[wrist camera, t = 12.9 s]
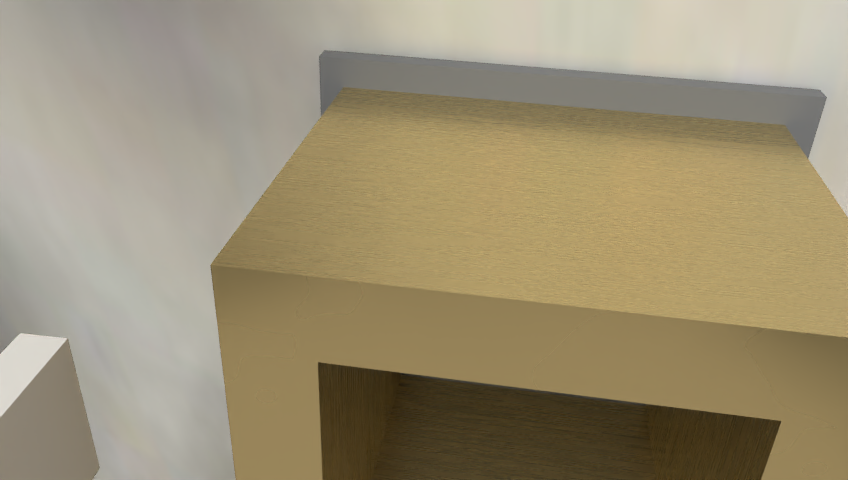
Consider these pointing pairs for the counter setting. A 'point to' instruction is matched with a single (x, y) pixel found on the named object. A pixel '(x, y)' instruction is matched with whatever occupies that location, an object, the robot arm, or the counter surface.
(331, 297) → the collar
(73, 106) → the counter surface
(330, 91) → the mat
